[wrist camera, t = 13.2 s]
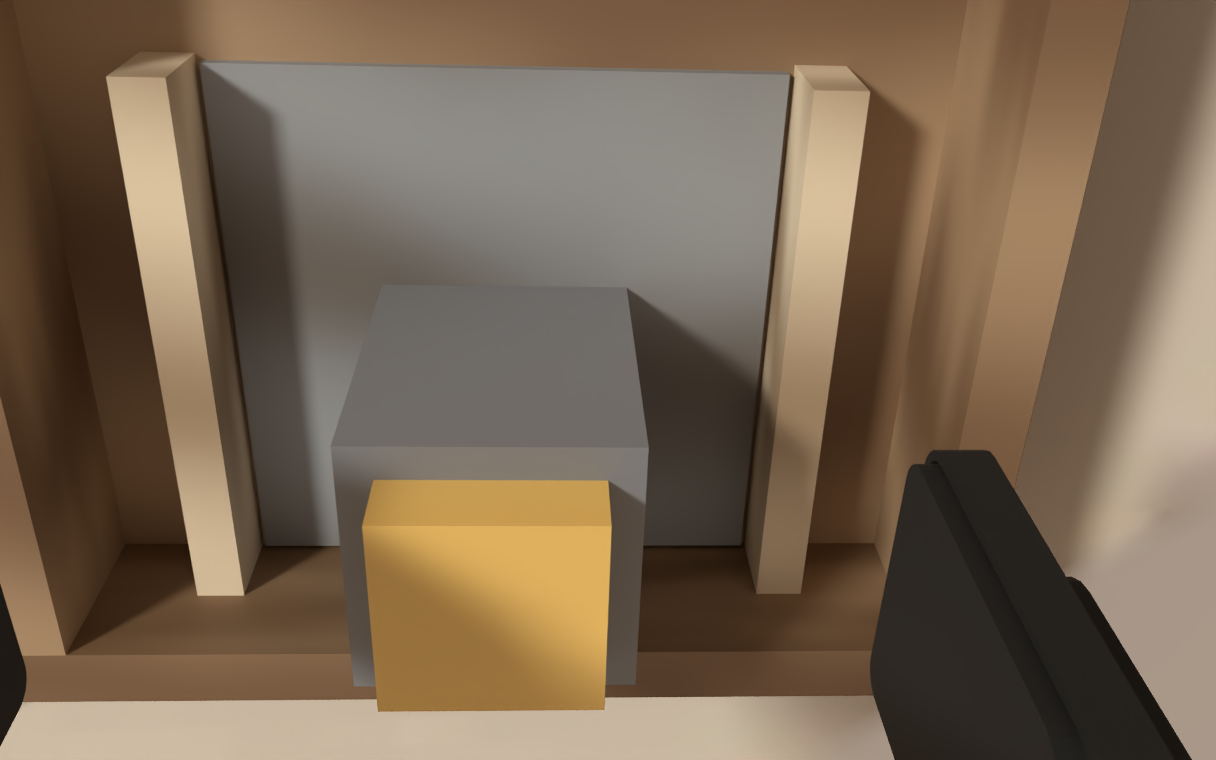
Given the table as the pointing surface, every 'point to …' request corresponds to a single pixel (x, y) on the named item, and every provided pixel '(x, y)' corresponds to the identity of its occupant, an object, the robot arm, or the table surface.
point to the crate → (514, 256)
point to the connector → (493, 498)
